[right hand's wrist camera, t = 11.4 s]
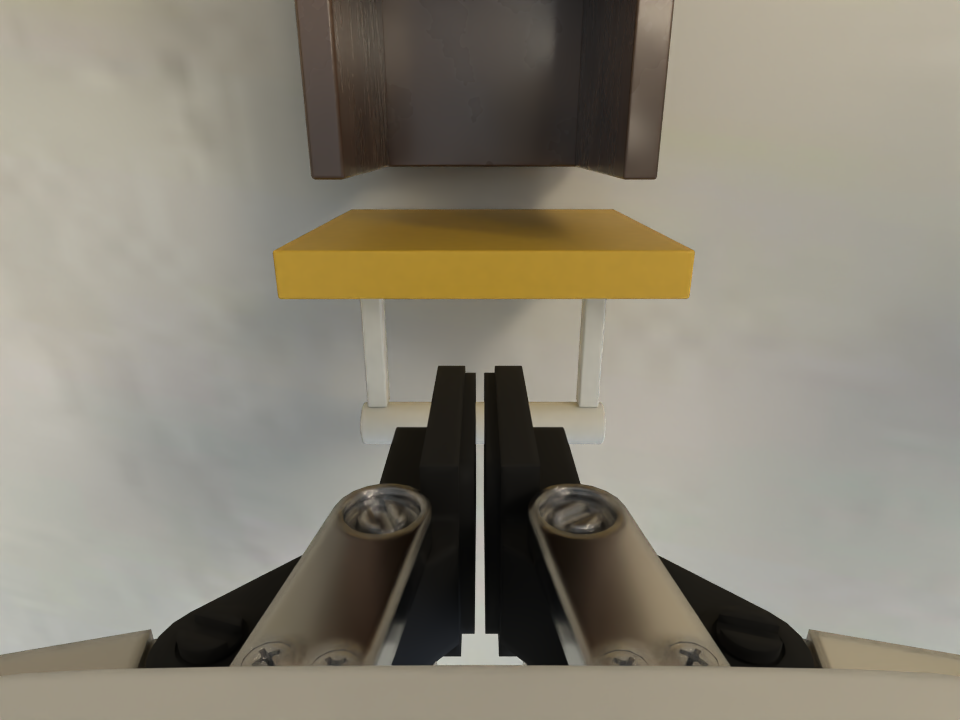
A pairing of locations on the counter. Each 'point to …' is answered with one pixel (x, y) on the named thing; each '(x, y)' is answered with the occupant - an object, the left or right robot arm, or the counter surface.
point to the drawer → (484, 143)
